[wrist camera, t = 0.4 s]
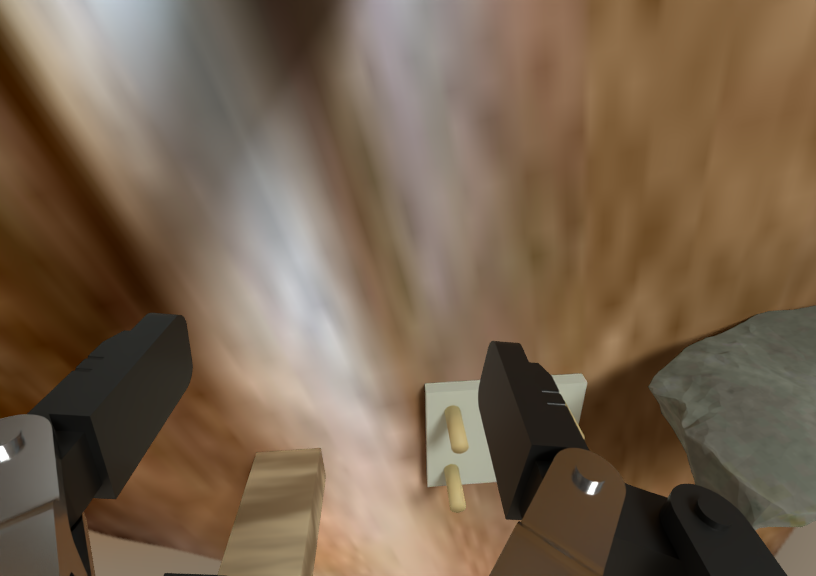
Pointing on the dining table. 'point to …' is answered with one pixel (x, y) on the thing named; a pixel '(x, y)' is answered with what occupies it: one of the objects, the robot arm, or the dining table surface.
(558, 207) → the dining table surface
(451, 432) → the peg board
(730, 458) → the rock
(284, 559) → the tan wooden block
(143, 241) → the dining table surface
